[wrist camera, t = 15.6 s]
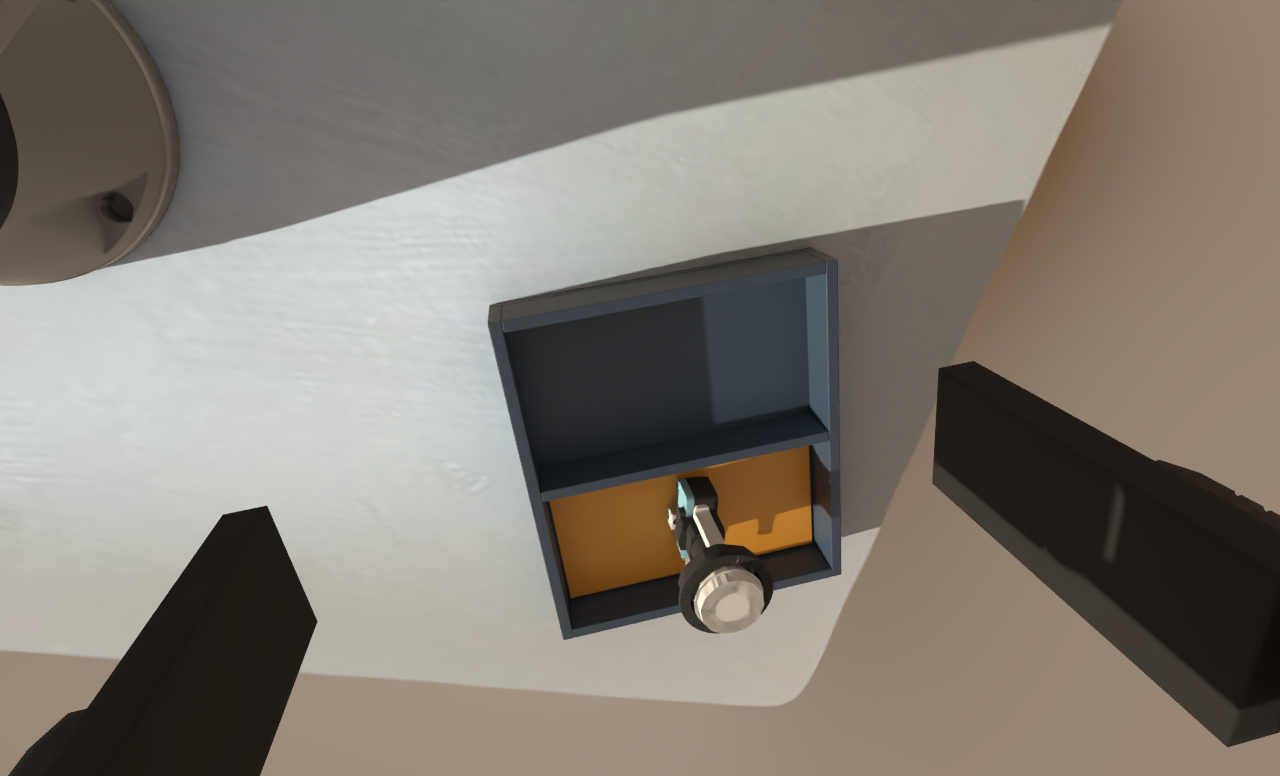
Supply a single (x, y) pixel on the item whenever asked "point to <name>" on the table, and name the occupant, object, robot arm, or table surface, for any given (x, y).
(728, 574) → the push button
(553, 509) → the parts tray
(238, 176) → the table surface
